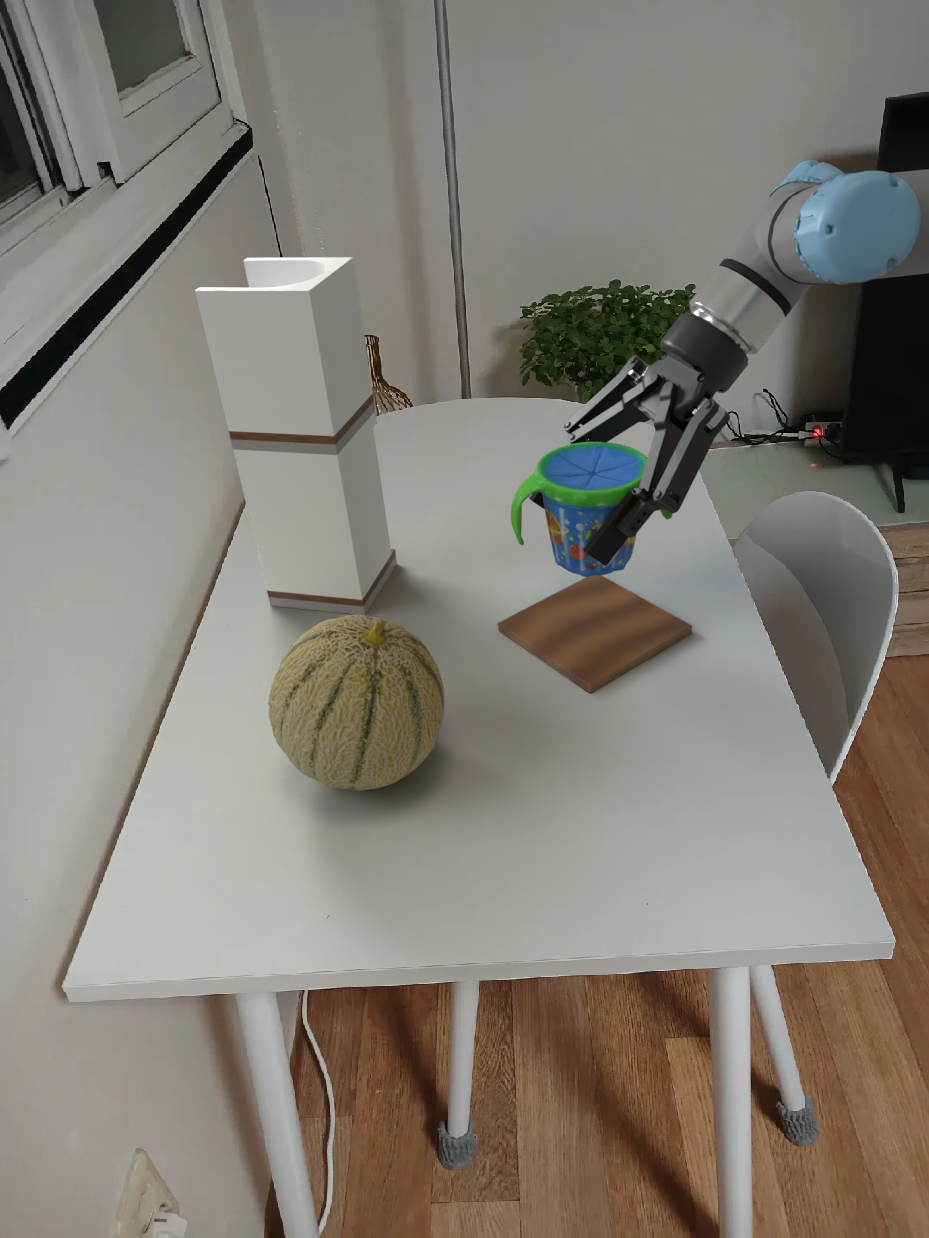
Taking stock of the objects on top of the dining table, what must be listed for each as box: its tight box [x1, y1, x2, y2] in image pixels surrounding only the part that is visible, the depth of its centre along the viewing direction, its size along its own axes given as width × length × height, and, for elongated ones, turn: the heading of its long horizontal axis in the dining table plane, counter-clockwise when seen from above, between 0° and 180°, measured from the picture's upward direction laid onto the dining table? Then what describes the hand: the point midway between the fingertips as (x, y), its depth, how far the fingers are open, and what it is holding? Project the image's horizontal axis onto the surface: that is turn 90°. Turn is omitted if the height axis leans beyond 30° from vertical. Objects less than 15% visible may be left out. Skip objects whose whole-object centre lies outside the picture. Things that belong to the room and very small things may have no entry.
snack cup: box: [510, 441, 674, 578], centre depth 90 cm, size 16×10×10 cm
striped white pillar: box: [194, 256, 398, 616], centre depth 100 cm, size 11×11×35 cm
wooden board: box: [497, 575, 693, 694], centre depth 98 cm, size 14×14×1 cm
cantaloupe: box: [267, 614, 446, 791], centre depth 80 cm, size 15×15×15 cm
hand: (565, 530), depth 90 cm, fingers closed on snack cup, 10 cm apart
